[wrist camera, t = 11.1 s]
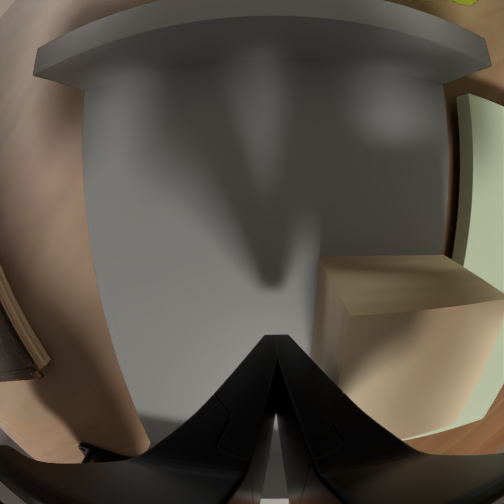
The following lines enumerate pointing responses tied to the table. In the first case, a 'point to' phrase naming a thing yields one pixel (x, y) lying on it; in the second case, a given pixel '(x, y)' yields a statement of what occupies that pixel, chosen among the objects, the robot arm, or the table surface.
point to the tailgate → (481, 228)
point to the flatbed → (250, 172)
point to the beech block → (405, 336)
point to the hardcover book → (17, 340)
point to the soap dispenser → (465, 1)
